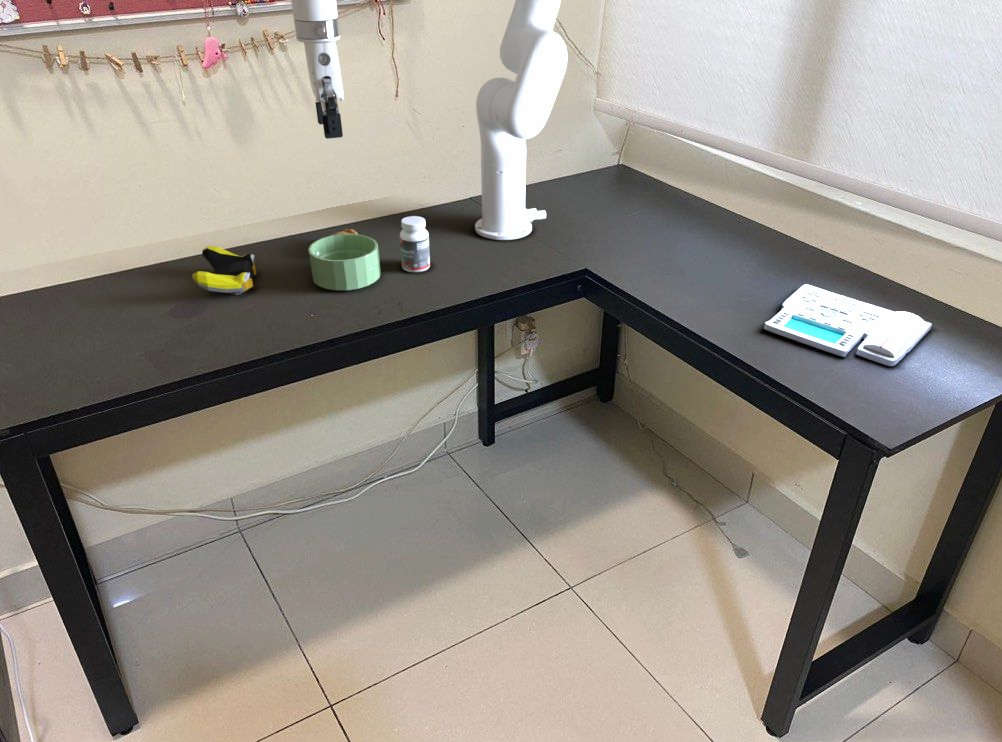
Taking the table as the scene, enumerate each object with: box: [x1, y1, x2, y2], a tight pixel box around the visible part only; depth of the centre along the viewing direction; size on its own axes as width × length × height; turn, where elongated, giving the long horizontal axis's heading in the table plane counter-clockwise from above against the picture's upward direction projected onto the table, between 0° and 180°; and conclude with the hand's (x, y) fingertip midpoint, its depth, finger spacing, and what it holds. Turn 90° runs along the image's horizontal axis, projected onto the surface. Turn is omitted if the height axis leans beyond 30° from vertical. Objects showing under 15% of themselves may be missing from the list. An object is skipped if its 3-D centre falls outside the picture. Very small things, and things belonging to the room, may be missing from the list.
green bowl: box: [307, 233, 381, 291], centre depth 154 cm, size 13×13×6 cm
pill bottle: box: [399, 215, 431, 273], centre depth 158 cm, size 6×6×10 cm
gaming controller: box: [191, 245, 257, 296], centre depth 152 cm, size 15×6×10 cm
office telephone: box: [763, 283, 933, 367], centre depth 139 cm, size 23×3×20 cm
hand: (330, 130), depth 148 cm, fingers open, 9 cm apart
